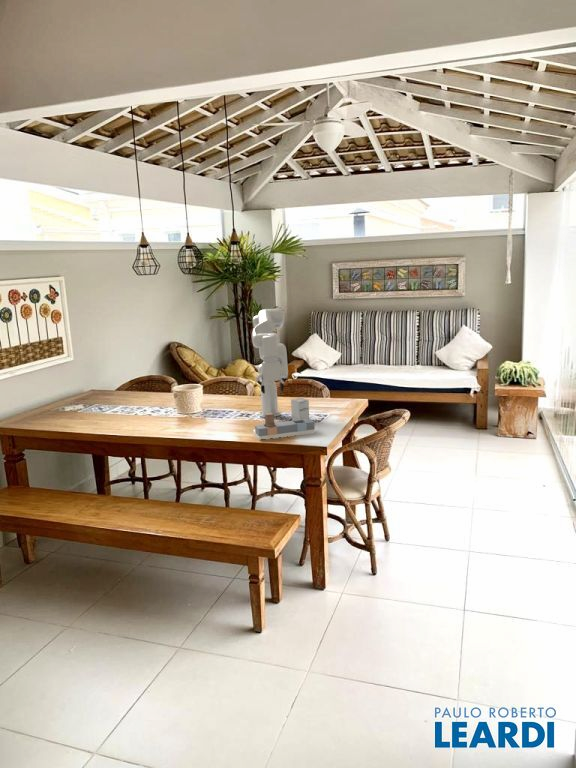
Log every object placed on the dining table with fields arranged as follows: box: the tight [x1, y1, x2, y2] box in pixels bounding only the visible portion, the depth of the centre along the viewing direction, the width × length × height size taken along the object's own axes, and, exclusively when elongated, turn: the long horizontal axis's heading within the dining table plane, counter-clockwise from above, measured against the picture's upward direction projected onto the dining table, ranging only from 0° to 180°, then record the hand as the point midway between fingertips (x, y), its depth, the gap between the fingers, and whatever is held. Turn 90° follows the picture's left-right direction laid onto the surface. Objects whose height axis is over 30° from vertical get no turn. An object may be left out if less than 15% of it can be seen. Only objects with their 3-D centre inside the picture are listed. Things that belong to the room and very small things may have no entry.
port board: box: [252, 418, 316, 441], centre depth 315 cm, size 14×30×6 cm, turn 107°
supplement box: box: [290, 397, 310, 421], centre depth 337 cm, size 7×7×13 cm
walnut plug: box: [264, 413, 276, 427], centre depth 309 cm, size 4×4×10 cm
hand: (272, 391), depth 309 cm, fingers open, 9 cm apart
